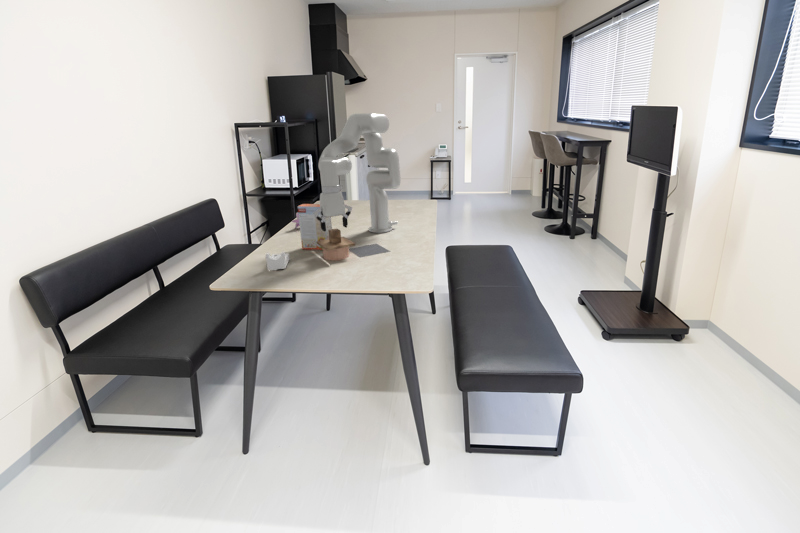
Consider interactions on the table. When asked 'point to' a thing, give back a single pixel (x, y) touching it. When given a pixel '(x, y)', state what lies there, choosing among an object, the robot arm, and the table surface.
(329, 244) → the lid
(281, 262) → the bracket
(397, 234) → the table surface
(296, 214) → the lily
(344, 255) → the bowl
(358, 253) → the mat
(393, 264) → the table surface
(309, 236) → the cracker box
